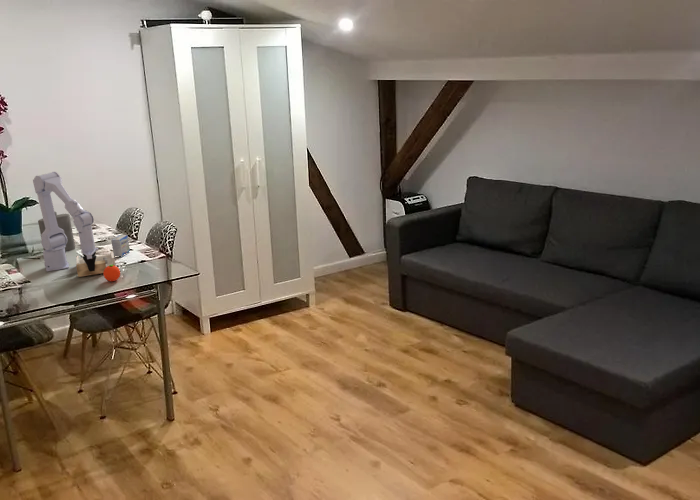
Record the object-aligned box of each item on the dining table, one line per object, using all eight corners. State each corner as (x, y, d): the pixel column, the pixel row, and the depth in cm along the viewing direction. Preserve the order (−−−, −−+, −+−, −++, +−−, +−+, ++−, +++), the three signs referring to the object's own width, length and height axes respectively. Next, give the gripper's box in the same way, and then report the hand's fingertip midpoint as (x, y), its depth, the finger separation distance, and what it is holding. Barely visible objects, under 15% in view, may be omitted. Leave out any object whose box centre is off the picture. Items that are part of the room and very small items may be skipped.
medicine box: (122, 257, 329) (119, 240, 326) (113, 257, 330) (110, 239, 327) (130, 251, 336) (127, 234, 334) (122, 251, 337) (119, 234, 335)
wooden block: (78, 276, 304) (76, 267, 303) (78, 273, 308) (76, 264, 306) (106, 272, 308) (105, 262, 307) (106, 269, 312) (104, 260, 310)
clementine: (107, 277, 304) (105, 262, 301) (123, 276, 304) (121, 261, 302) (102, 284, 296) (100, 268, 294) (119, 283, 297) (116, 267, 294)
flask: (71, 246, 349) (64, 207, 342) (77, 248, 345) (70, 209, 338) (42, 254, 339) (34, 214, 332) (47, 256, 335) (39, 216, 328)
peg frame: (78, 272, 311) (76, 263, 310) (78, 265, 321) (76, 256, 319) (115, 267, 316) (114, 257, 315) (114, 259, 326) (112, 250, 325)
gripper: (97, 243, 298) (102, 273, 302) (95, 234, 311) (100, 262, 315) (79, 245, 296) (84, 275, 300) (79, 236, 308) (84, 265, 313)
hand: (91, 269), depth 307 cm, fingers closed on wooden block, 4 cm apart
